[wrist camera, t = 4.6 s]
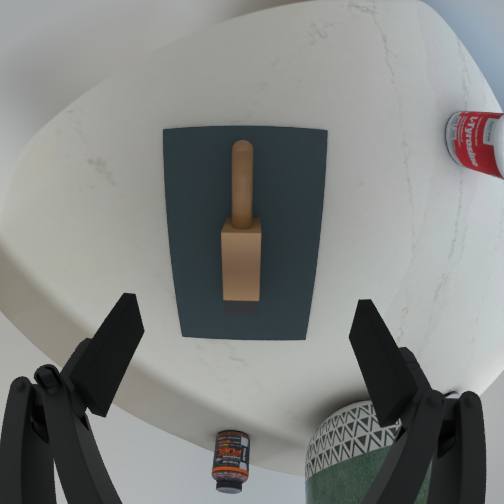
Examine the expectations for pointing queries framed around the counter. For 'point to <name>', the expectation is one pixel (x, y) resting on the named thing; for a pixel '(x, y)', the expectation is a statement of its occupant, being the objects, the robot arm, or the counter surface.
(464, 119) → the pill bottle
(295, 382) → the counter surface
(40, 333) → the counter surface
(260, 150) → the mat
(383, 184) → the counter surface
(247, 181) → the scrub brush
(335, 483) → the planter
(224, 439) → the supplement bottle
